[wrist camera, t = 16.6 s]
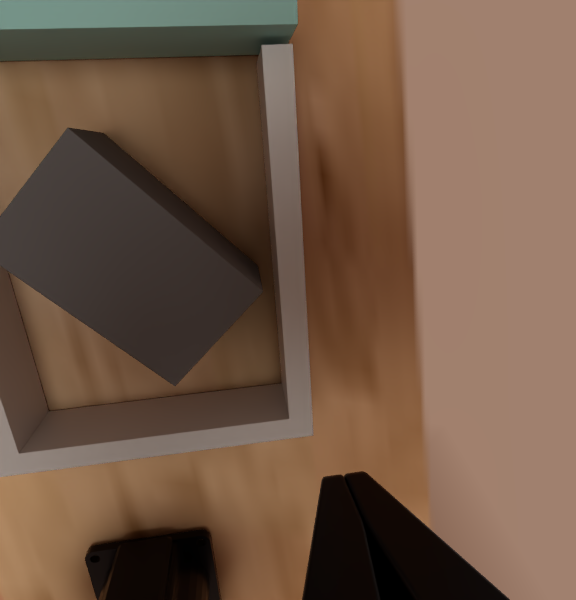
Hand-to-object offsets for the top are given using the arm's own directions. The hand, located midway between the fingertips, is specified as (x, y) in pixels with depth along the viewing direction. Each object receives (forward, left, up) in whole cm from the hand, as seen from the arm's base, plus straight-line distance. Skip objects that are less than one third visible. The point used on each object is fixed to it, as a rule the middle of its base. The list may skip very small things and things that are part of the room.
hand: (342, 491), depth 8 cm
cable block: (+3, +5, -12) cm, 14 cm away
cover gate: (+10, +6, -12) cm, 17 cm away
